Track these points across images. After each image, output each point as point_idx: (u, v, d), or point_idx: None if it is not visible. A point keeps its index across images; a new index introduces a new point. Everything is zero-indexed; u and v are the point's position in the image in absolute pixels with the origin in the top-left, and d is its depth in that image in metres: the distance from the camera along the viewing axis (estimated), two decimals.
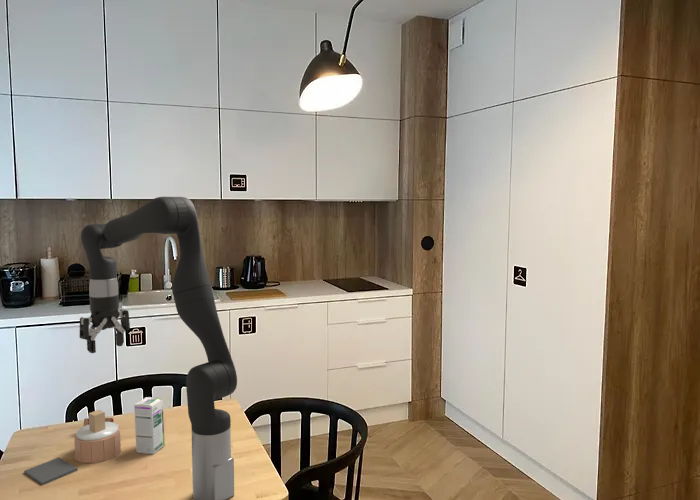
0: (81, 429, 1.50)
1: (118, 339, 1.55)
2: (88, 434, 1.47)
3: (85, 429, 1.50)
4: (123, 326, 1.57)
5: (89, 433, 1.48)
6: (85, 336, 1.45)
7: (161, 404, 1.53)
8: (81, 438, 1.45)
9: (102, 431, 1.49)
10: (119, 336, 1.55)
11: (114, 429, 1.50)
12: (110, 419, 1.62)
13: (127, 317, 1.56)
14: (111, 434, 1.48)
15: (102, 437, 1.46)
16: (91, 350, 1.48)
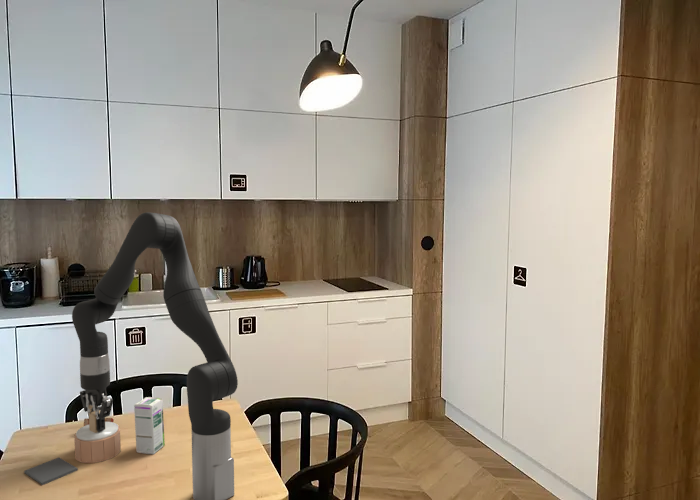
0: (81, 429, 1.50)
1: None
2: (88, 434, 1.47)
3: (85, 429, 1.50)
4: None
5: (89, 433, 1.48)
6: None
7: (161, 404, 1.53)
8: (81, 438, 1.45)
9: (102, 431, 1.49)
10: None
11: (114, 429, 1.50)
12: (110, 419, 1.62)
13: None
14: (111, 434, 1.48)
15: (102, 437, 1.46)
16: None
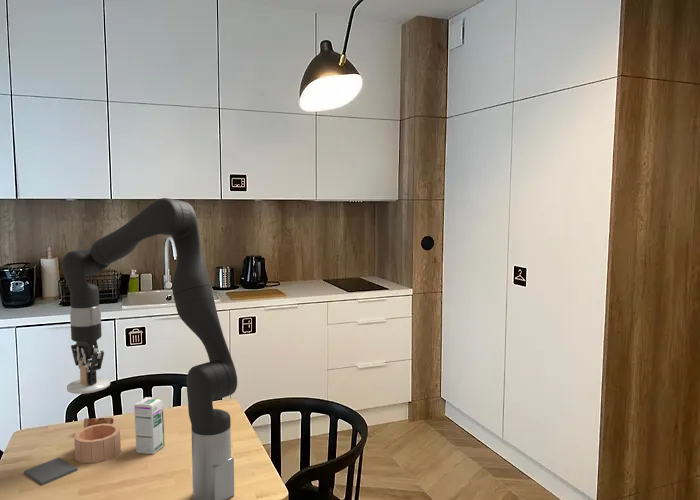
0: (72, 383, 1.47)
1: None
2: (79, 388, 1.44)
3: (76, 383, 1.47)
4: None
5: (80, 386, 1.45)
6: None
7: (161, 404, 1.53)
8: (71, 391, 1.42)
9: (93, 385, 1.46)
10: None
11: (105, 383, 1.47)
12: (110, 419, 1.62)
13: None
14: (102, 388, 1.45)
15: (93, 390, 1.43)
16: None
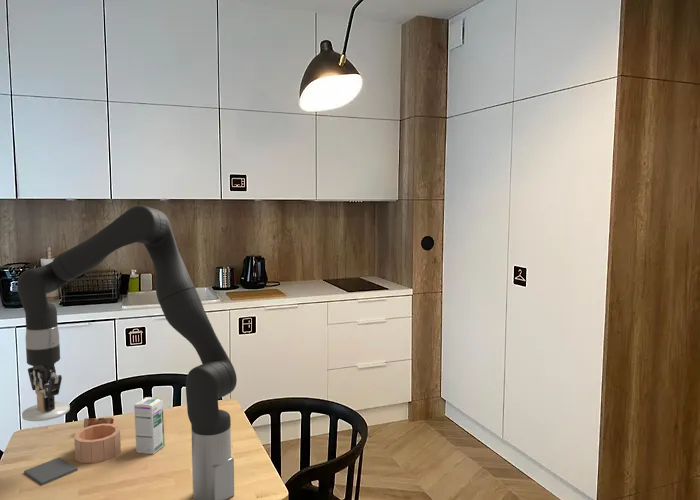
0: (28, 409, 1.38)
1: None
2: (35, 414, 1.35)
3: (33, 409, 1.38)
4: None
5: (37, 413, 1.36)
6: None
7: (161, 404, 1.53)
8: (27, 418, 1.33)
9: (51, 411, 1.37)
10: None
11: (64, 409, 1.38)
12: (110, 419, 1.62)
13: None
14: (60, 414, 1.36)
15: (49, 417, 1.34)
16: None
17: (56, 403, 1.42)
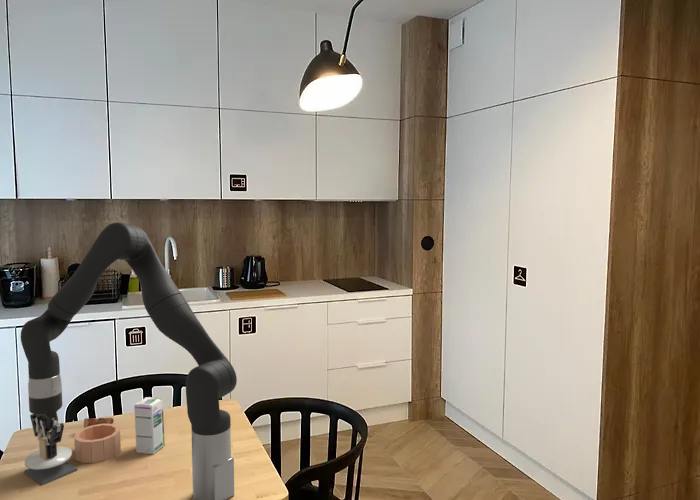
0: (31, 455, 1.39)
1: None
2: (37, 462, 1.36)
3: (35, 455, 1.39)
4: None
5: (39, 460, 1.37)
6: None
7: (161, 404, 1.53)
8: (29, 466, 1.34)
9: (53, 458, 1.38)
10: None
11: (66, 456, 1.39)
12: (110, 419, 1.62)
13: None
14: (62, 461, 1.37)
15: (52, 465, 1.35)
16: None
17: (58, 448, 1.43)
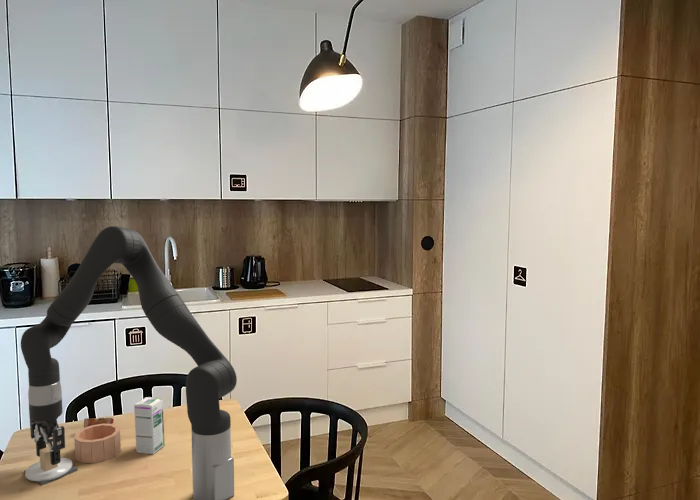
0: (32, 467, 1.40)
1: (42, 448, 1.41)
2: (38, 474, 1.36)
3: (36, 467, 1.40)
4: None
5: (40, 471, 1.37)
6: None
7: (161, 404, 1.53)
8: (30, 478, 1.35)
9: (54, 469, 1.38)
10: (44, 444, 1.42)
11: (67, 467, 1.39)
12: (110, 419, 1.62)
13: None
14: (63, 473, 1.37)
15: (52, 477, 1.35)
16: None
17: None
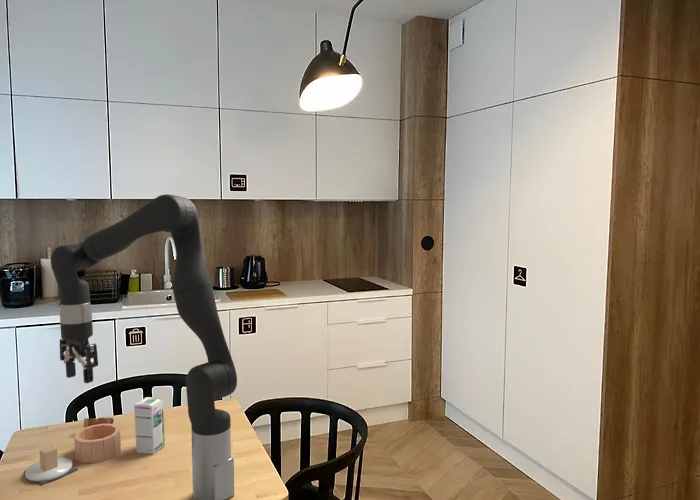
0: (32, 467, 1.40)
1: (72, 370, 1.43)
2: (38, 474, 1.36)
3: (36, 467, 1.40)
4: None
5: (40, 471, 1.37)
6: None
7: (161, 404, 1.53)
8: (30, 478, 1.35)
9: (54, 469, 1.38)
10: (73, 365, 1.43)
11: (67, 467, 1.39)
12: (110, 419, 1.62)
13: None
14: (63, 473, 1.37)
15: (52, 477, 1.35)
16: None
17: (59, 459, 1.44)
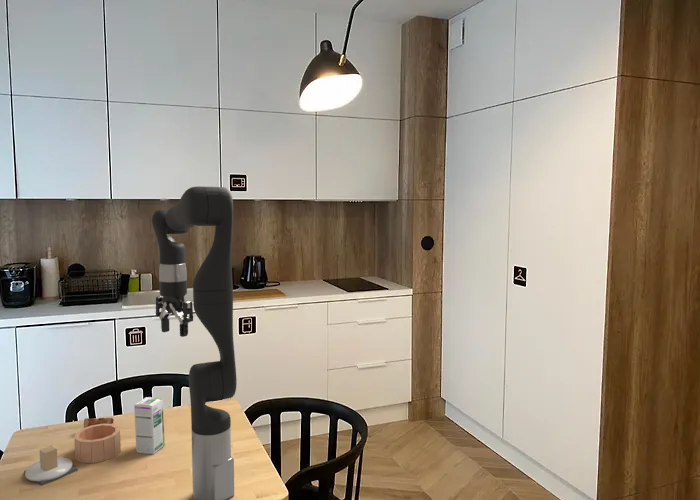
0: (32, 467, 1.40)
1: (166, 325, 1.56)
2: (38, 474, 1.36)
3: (36, 467, 1.40)
4: None
5: (40, 471, 1.37)
6: None
7: (161, 404, 1.53)
8: (30, 478, 1.35)
9: (54, 469, 1.38)
10: (168, 321, 1.56)
11: (67, 467, 1.39)
12: (110, 419, 1.62)
13: None
14: (63, 473, 1.37)
15: (52, 477, 1.35)
16: None
17: (59, 459, 1.44)
